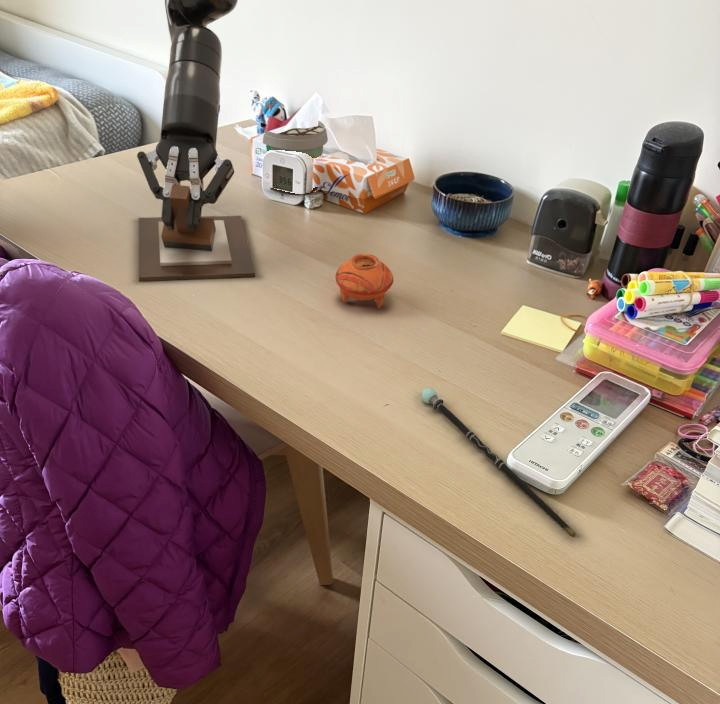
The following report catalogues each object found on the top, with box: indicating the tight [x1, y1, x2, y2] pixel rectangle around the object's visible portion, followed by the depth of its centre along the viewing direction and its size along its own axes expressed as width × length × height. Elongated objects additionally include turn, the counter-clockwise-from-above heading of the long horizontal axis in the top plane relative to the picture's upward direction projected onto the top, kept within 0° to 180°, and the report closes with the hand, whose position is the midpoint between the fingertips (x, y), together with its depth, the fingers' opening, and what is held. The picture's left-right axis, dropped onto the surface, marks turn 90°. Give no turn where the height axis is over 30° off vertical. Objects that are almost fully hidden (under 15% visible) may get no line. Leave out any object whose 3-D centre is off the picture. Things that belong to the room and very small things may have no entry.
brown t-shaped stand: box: [161, 184, 216, 251], centre depth 101 cm, size 7×4×9 cm, turn 88°
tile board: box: [138, 215, 256, 282], centre depth 107 cm, size 16×20×1 cm
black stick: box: [421, 387, 576, 537], centre depth 76 cm, size 2×25×2 cm
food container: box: [262, 120, 329, 196], centre depth 124 cm, size 12×6×10 cm, turn 129°
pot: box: [334, 253, 394, 309], centre depth 98 cm, size 8×8×7 cm
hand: (180, 228), depth 99 cm, fingers closed on brown t-shaped stand, 2 cm apart
